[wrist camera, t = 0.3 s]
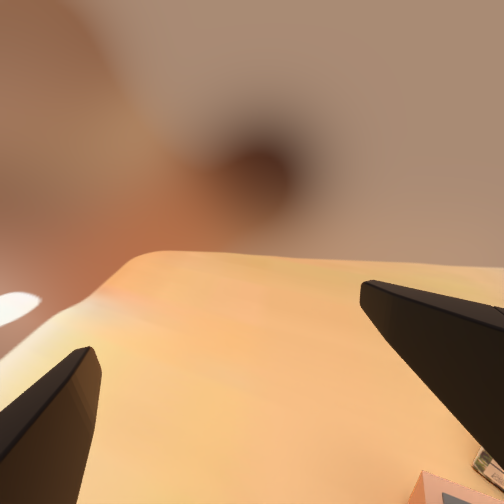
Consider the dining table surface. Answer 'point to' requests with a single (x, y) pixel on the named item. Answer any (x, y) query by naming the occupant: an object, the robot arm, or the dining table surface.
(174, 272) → the dining table surface
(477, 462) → the syrup box
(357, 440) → the dining table surface
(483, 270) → the dining table surface
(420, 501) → the terracotta block
